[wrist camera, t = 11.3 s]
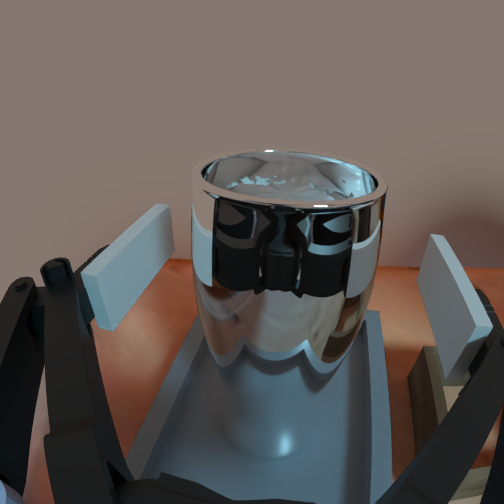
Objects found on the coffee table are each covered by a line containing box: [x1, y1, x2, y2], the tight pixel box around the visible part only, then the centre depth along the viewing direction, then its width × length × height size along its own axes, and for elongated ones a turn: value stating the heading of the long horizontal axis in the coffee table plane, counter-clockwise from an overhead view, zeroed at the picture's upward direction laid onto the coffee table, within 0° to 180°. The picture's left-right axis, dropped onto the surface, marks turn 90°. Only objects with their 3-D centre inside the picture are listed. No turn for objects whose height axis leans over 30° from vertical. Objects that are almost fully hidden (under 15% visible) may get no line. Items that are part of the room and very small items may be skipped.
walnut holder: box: [407, 346, 491, 500], centre depth 15 cm, size 11×11×4 cm
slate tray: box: [125, 310, 392, 504], centre depth 18 cm, size 14×20×2 cm
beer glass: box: [191, 148, 388, 460], centre depth 14 cm, size 7×7×15 cm
